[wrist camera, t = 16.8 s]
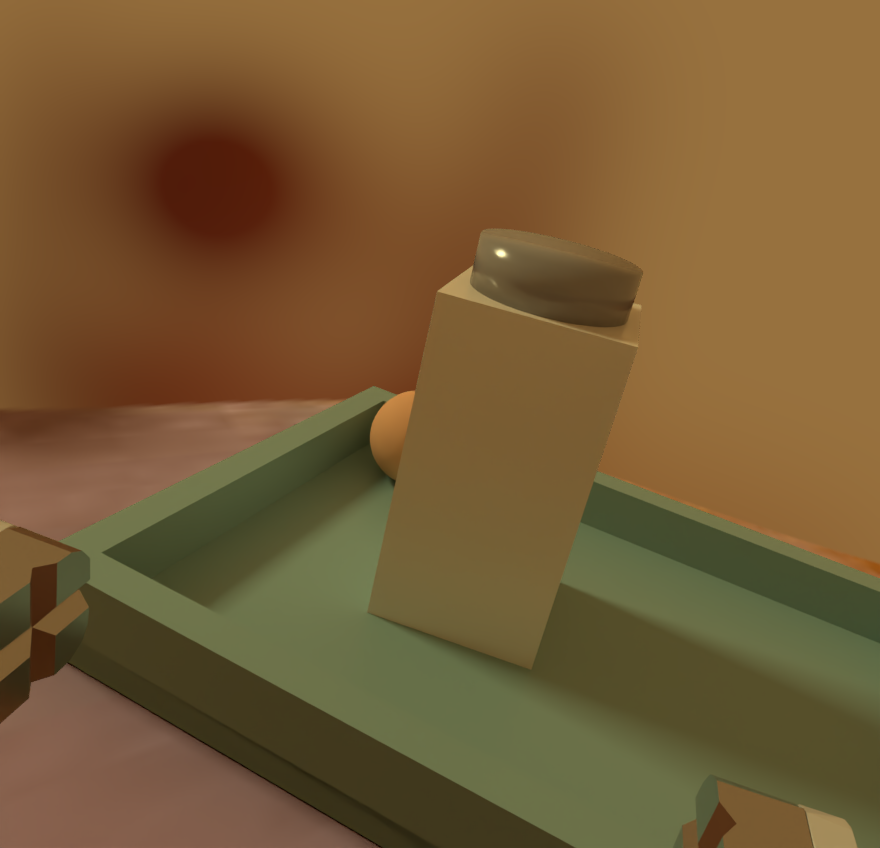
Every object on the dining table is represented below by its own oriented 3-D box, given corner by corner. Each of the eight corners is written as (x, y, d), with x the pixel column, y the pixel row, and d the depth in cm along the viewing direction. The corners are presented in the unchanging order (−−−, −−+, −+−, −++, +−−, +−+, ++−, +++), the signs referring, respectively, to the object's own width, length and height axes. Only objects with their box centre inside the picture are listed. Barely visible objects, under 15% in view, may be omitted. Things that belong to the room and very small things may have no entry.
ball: (344, 478, 28) (361, 390, 26) (389, 448, 31) (406, 368, 29) (429, 514, 27) (451, 425, 25) (467, 480, 30) (489, 398, 28)
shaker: (366, 612, 21) (448, 238, 17) (414, 533, 25) (488, 218, 21) (531, 669, 20) (655, 294, 16) (552, 578, 25) (655, 261, 21)
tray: (31, 641, 19) (32, 554, 18) (363, 441, 33) (373, 386, 32) (1081, 1258, 12) (1175, 1172, 11) (934, 674, 26) (970, 613, 25)
